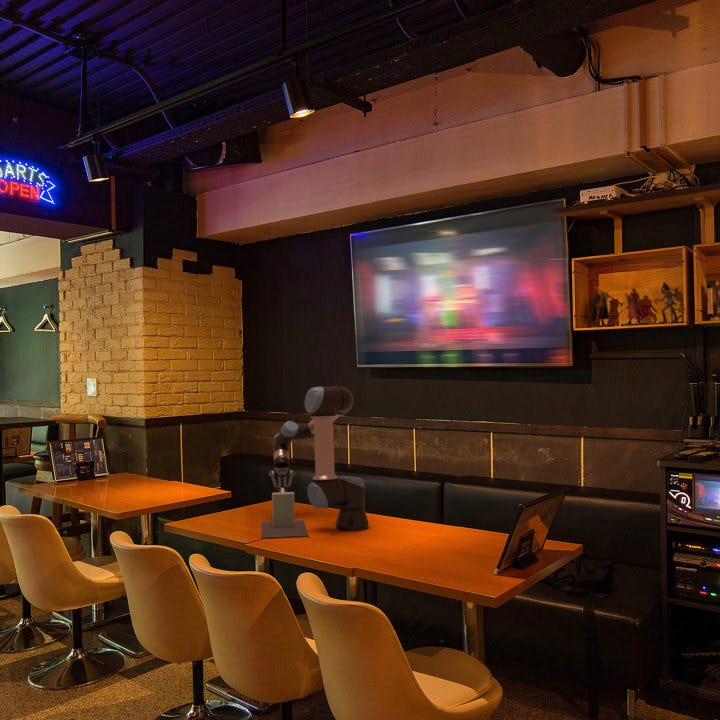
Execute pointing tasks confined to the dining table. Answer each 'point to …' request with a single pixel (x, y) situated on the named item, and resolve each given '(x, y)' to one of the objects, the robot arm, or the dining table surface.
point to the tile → (283, 509)
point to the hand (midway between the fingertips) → (282, 501)
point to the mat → (283, 530)
